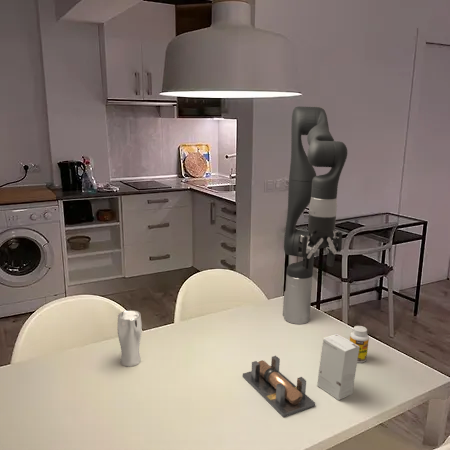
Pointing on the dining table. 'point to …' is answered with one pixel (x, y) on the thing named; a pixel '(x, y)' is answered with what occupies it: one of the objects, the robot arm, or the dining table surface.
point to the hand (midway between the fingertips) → (318, 267)
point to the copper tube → (276, 378)
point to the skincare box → (338, 366)
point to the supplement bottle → (360, 341)
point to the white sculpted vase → (129, 337)
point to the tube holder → (278, 390)
